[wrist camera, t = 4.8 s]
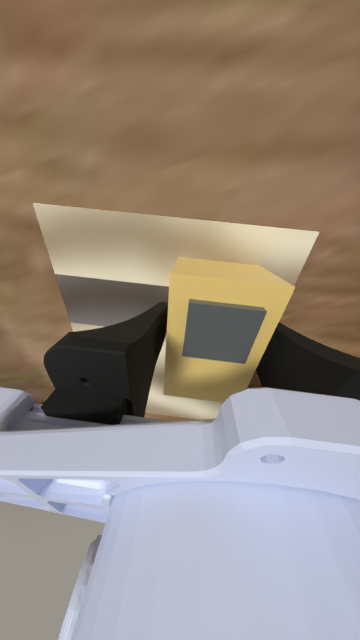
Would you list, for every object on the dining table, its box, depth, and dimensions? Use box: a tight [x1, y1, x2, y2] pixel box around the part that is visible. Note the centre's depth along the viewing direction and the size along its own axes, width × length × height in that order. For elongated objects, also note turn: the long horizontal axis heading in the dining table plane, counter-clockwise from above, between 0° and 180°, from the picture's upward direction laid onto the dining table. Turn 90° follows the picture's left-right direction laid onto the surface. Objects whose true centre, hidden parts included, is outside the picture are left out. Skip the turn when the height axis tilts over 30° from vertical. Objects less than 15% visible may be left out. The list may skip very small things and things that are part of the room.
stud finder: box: [163, 257, 295, 403], centre depth 10 cm, size 8×5×4 cm, turn 175°
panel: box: [33, 203, 319, 420], centre depth 14 cm, size 20×16×1 cm
